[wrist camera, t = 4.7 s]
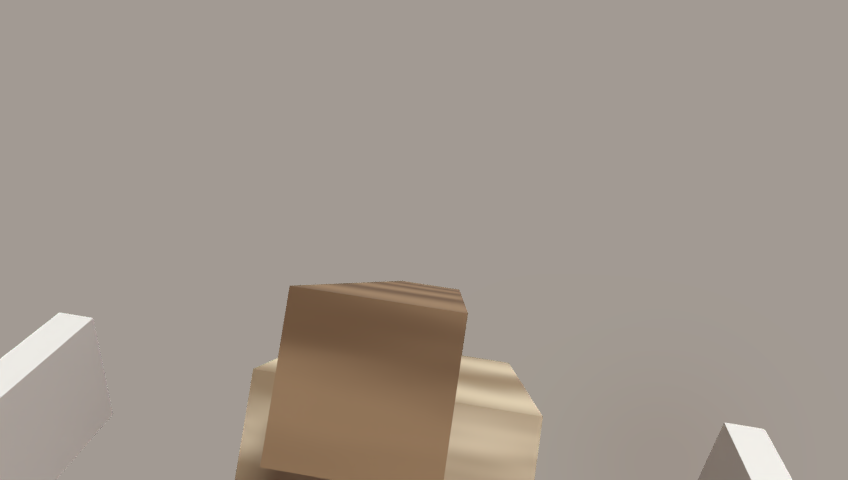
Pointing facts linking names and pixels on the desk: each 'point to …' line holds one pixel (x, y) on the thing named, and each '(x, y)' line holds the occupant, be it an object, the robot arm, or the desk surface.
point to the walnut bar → (366, 381)
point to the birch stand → (470, 432)
